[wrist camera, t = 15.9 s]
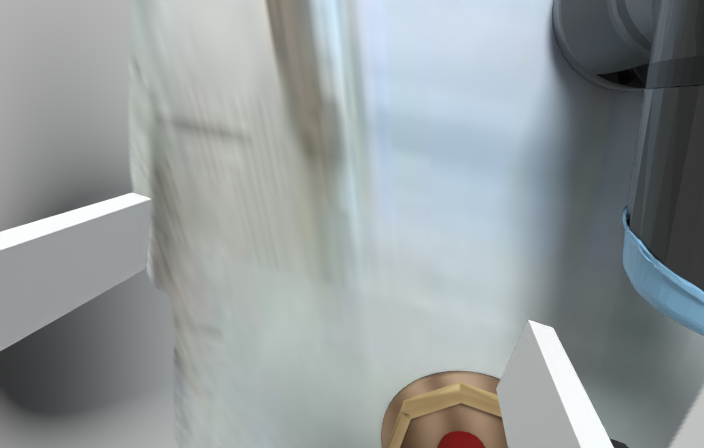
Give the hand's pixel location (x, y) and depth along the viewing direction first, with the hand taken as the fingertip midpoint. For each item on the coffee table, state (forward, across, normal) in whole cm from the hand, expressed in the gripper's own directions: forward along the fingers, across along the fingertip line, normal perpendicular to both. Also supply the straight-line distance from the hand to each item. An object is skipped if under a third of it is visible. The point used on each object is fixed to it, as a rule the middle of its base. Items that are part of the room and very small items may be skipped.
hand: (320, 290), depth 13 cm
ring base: (+31, +18, -32) cm, 48 cm away
